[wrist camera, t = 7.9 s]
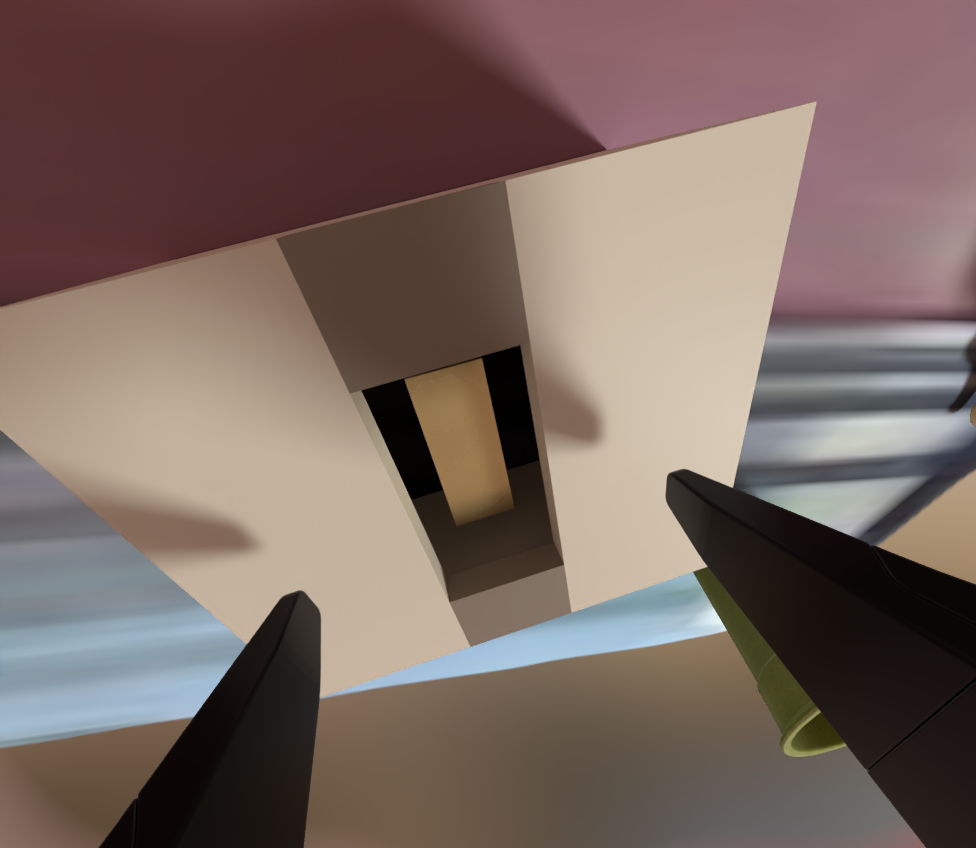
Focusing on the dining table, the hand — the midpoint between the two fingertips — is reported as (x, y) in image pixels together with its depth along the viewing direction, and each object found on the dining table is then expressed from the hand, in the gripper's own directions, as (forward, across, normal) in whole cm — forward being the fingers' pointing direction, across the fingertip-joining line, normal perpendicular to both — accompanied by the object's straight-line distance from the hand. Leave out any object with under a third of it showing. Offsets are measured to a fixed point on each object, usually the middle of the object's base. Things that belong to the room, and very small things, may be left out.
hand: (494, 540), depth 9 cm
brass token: (+10, 0, 0) cm, 10 cm away
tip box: (+10, 0, 0) cm, 10 cm away
